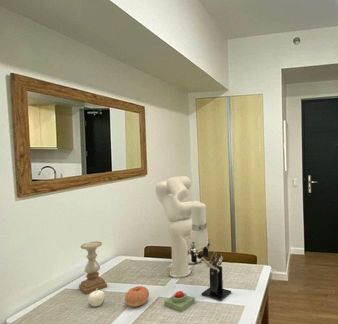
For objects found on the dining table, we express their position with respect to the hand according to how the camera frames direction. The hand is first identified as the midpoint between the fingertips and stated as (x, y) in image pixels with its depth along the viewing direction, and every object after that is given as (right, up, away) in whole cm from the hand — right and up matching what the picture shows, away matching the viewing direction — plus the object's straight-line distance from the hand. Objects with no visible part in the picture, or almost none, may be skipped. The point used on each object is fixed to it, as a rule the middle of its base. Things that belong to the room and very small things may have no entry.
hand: (200, 259), depth 145 cm
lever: (+4, -2, -2) cm, 5 cm away
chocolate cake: (+5, -15, +34) cm, 38 cm away
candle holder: (-59, -18, +5) cm, 62 cm away
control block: (-8, -17, -13) cm, 23 cm away
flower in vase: (-10, -15, +38) cm, 43 cm away
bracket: (+9, -16, -5) cm, 19 cm away
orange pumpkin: (-28, -17, -12) cm, 35 cm away
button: (-8, -13, -13) cm, 20 cm away
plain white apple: (-48, -18, -12) cm, 53 cm away
